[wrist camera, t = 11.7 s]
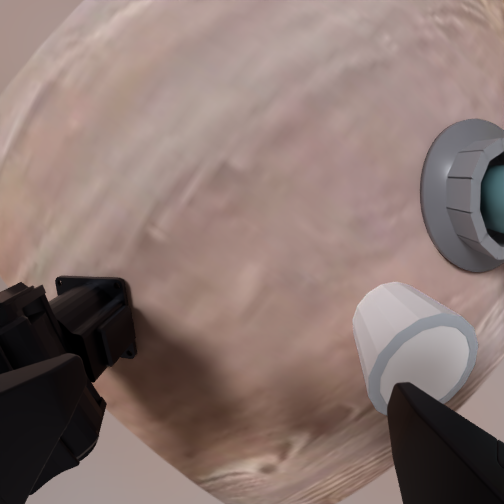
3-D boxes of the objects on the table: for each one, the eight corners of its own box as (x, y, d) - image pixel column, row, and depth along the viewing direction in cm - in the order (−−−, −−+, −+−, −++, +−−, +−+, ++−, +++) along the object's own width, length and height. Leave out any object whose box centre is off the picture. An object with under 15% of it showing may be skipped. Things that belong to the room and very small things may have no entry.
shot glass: (444, 316, 20) (492, 362, 13) (377, 374, 21) (404, 436, 15) (399, 252, 19) (449, 286, 12) (323, 319, 21) (341, 379, 14)
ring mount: (415, 271, 19) (439, 289, 16) (416, 109, 17) (443, 97, 13) (519, 266, 18) (547, 279, 15) (523, 133, 16) (553, 131, 12)
